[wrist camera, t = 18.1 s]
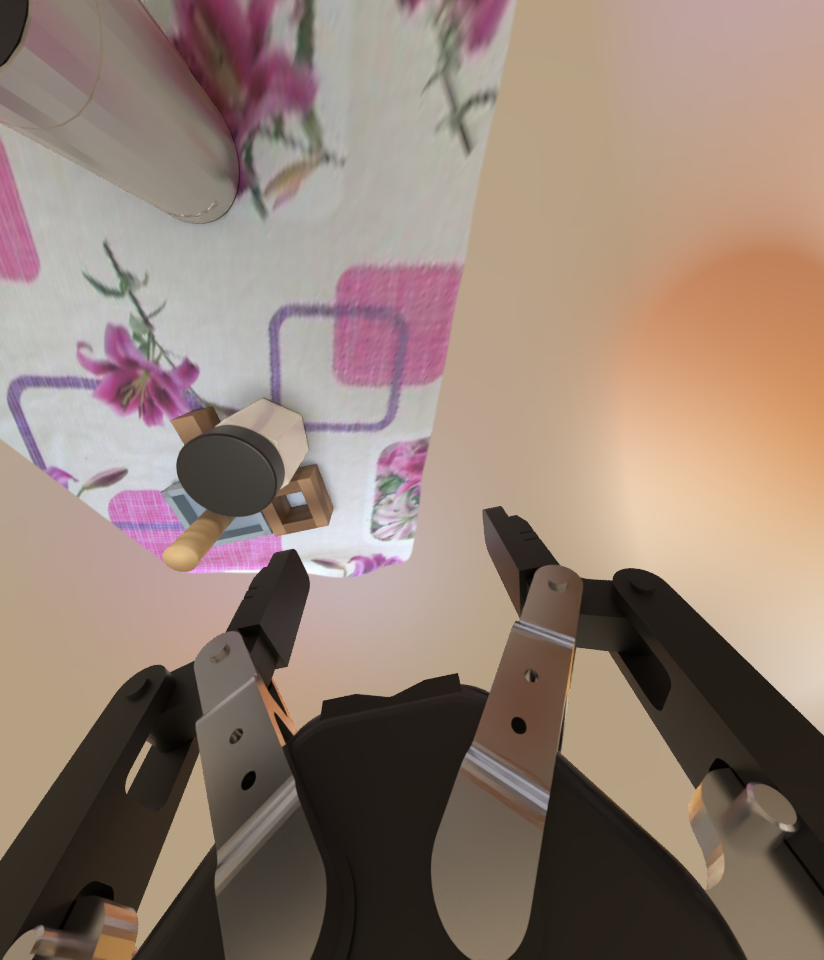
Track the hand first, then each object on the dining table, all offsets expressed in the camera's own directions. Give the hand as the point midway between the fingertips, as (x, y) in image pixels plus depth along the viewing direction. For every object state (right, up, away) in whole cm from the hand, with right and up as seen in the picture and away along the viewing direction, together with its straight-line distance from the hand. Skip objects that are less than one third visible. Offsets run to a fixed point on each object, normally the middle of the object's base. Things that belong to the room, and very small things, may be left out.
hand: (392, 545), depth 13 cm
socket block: (-14, +1, +27) cm, 31 cm away
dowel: (-24, -1, +27) cm, 36 cm away
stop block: (-23, +8, +23) cm, 33 cm away
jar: (-16, +8, +24) cm, 30 cm away
